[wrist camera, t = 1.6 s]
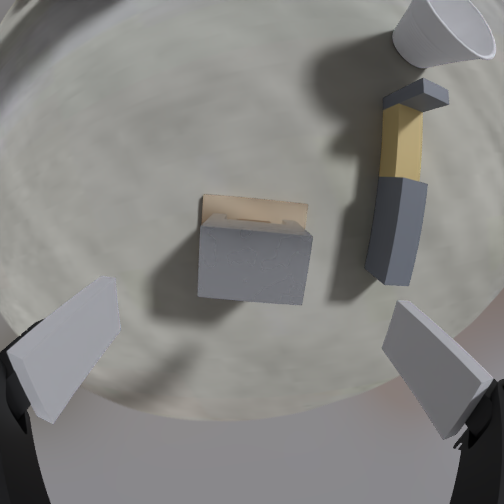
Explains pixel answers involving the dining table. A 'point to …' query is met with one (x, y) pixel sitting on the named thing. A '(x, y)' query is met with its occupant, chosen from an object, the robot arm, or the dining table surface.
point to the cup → (443, 33)
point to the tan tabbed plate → (254, 209)
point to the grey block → (253, 260)
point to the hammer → (401, 183)
